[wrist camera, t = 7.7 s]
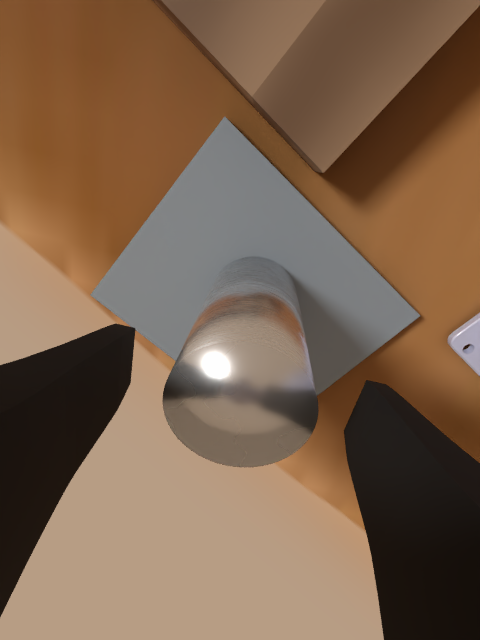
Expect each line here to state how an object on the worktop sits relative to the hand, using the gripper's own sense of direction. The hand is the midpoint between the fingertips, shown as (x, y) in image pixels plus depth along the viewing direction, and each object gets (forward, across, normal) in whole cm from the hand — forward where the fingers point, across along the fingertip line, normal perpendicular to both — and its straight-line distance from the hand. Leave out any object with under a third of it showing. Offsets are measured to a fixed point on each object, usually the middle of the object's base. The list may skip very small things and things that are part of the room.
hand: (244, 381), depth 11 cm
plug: (+6, 0, 0) cm, 6 cm away
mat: (+7, 0, 0) cm, 7 cm away
